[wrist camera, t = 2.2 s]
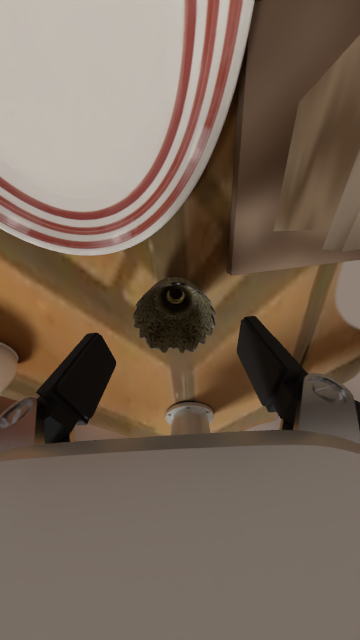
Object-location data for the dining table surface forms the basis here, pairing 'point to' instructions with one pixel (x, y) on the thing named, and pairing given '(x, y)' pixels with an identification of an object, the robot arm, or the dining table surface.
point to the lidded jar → (7, 365)
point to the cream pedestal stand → (297, 138)
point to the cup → (174, 316)
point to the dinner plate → (110, 113)
